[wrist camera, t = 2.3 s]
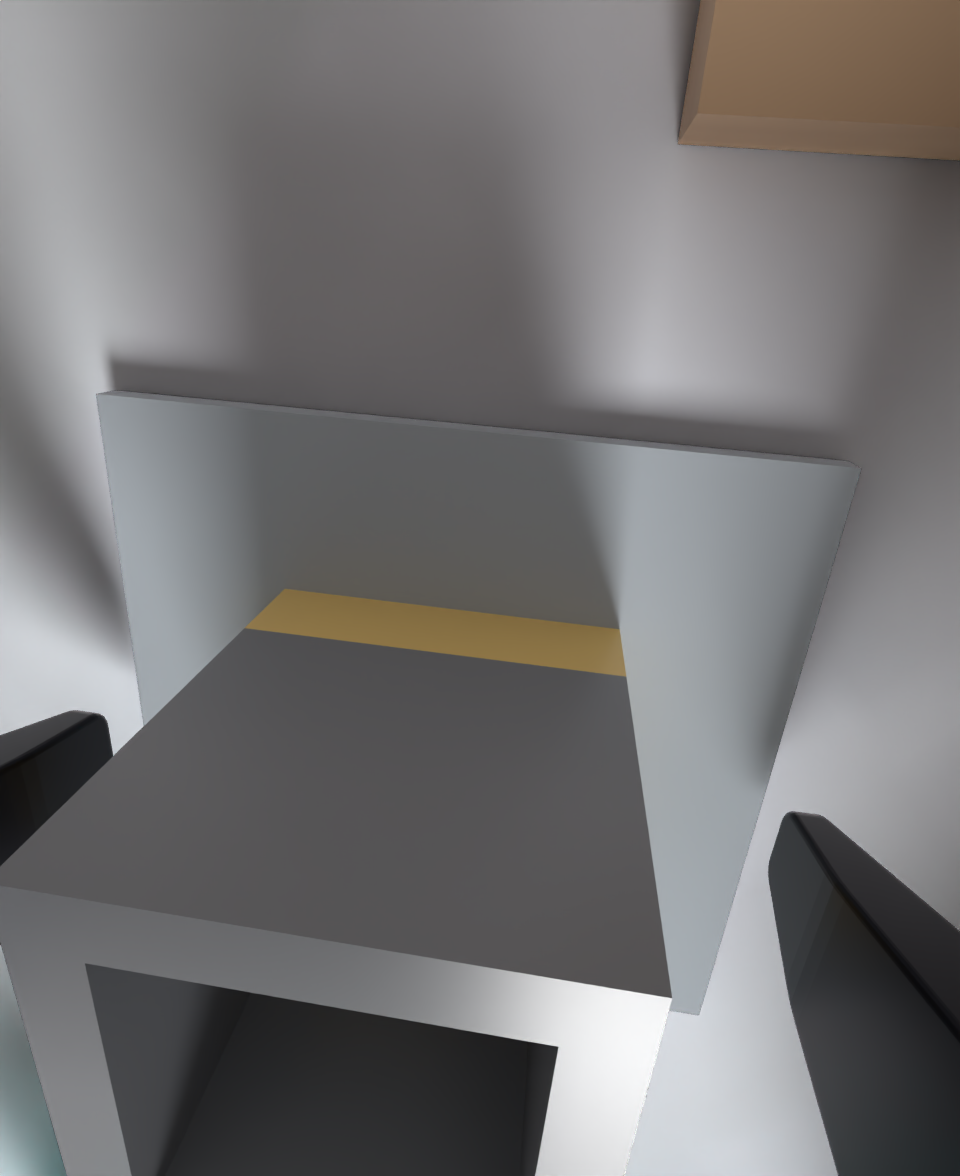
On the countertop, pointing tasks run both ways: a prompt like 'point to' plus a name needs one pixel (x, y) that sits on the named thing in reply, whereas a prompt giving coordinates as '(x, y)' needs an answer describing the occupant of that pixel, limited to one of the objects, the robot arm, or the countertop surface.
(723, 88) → the pin board
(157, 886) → the sleeve
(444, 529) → the mat
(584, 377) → the countertop surface
